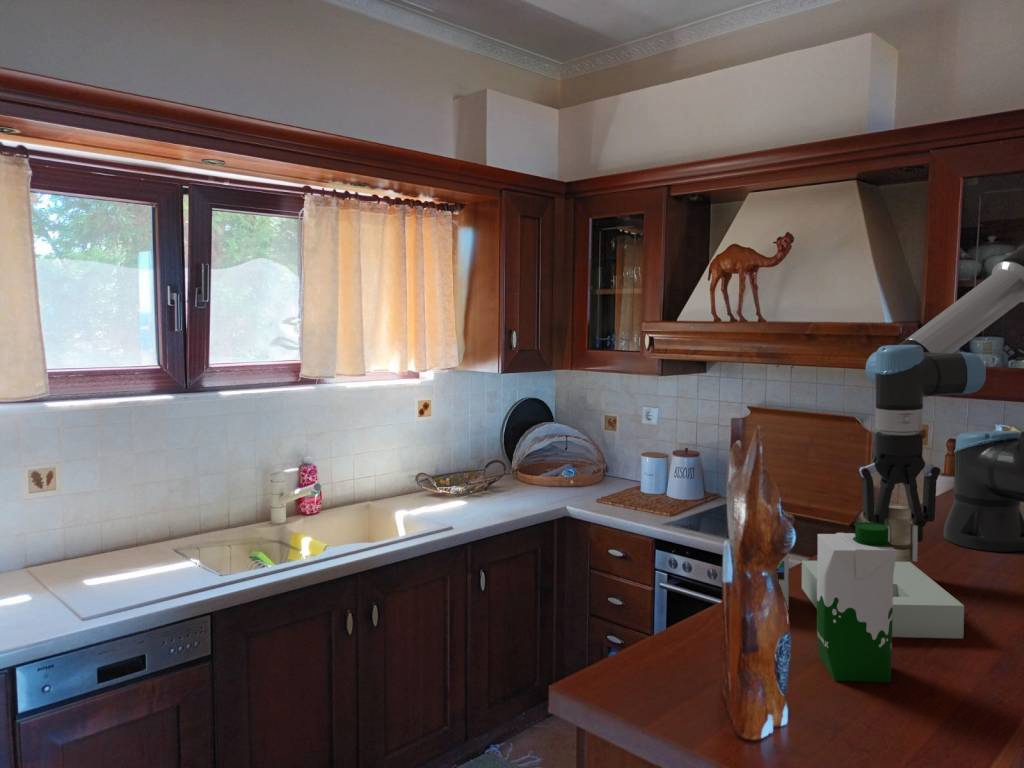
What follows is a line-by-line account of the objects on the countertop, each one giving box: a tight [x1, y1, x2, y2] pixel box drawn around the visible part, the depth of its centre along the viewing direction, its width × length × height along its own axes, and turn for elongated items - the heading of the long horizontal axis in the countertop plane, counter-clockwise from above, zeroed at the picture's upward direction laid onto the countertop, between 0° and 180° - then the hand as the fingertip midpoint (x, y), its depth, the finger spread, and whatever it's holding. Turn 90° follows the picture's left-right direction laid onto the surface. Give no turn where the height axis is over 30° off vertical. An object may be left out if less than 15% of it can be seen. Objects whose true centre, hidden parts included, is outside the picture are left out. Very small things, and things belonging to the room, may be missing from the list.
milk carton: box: [816, 521, 897, 683], centre depth 102 cm, size 9×9×20 cm
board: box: [801, 560, 965, 640], centre depth 123 cm, size 18×20×5 cm
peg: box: [885, 505, 912, 563], centre depth 137 cm, size 4×4×12 cm
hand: (898, 558), depth 137 cm, fingers closed on peg, 4 cm apart
